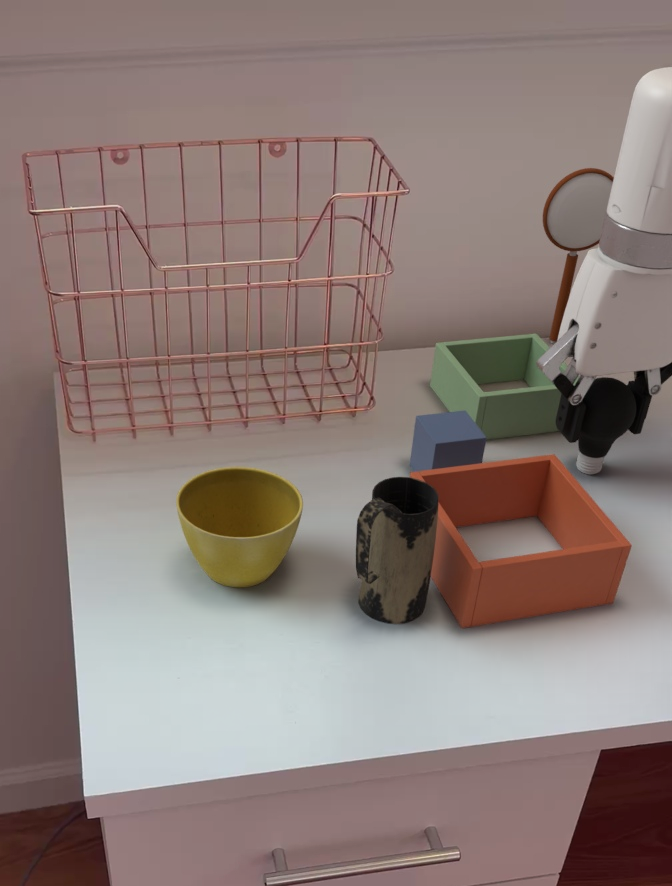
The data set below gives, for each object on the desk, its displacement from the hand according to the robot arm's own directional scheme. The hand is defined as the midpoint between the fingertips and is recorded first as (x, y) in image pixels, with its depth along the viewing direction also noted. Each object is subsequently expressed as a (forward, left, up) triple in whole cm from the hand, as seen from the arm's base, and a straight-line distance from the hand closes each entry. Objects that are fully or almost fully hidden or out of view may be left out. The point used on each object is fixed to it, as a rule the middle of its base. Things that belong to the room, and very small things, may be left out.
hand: (598, 429), depth 97 cm
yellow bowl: (+36, +7, -5) cm, 37 cm away
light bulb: (0, 0, -5) cm, 5 cm away
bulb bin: (+3, -13, -5) cm, 14 cm away
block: (+14, -2, -5) cm, 15 cm away
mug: (+26, +15, -5) cm, 31 cm away
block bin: (+14, +12, -5) cm, 19 cm away
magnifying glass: (-9, -26, -5) cm, 28 cm away
